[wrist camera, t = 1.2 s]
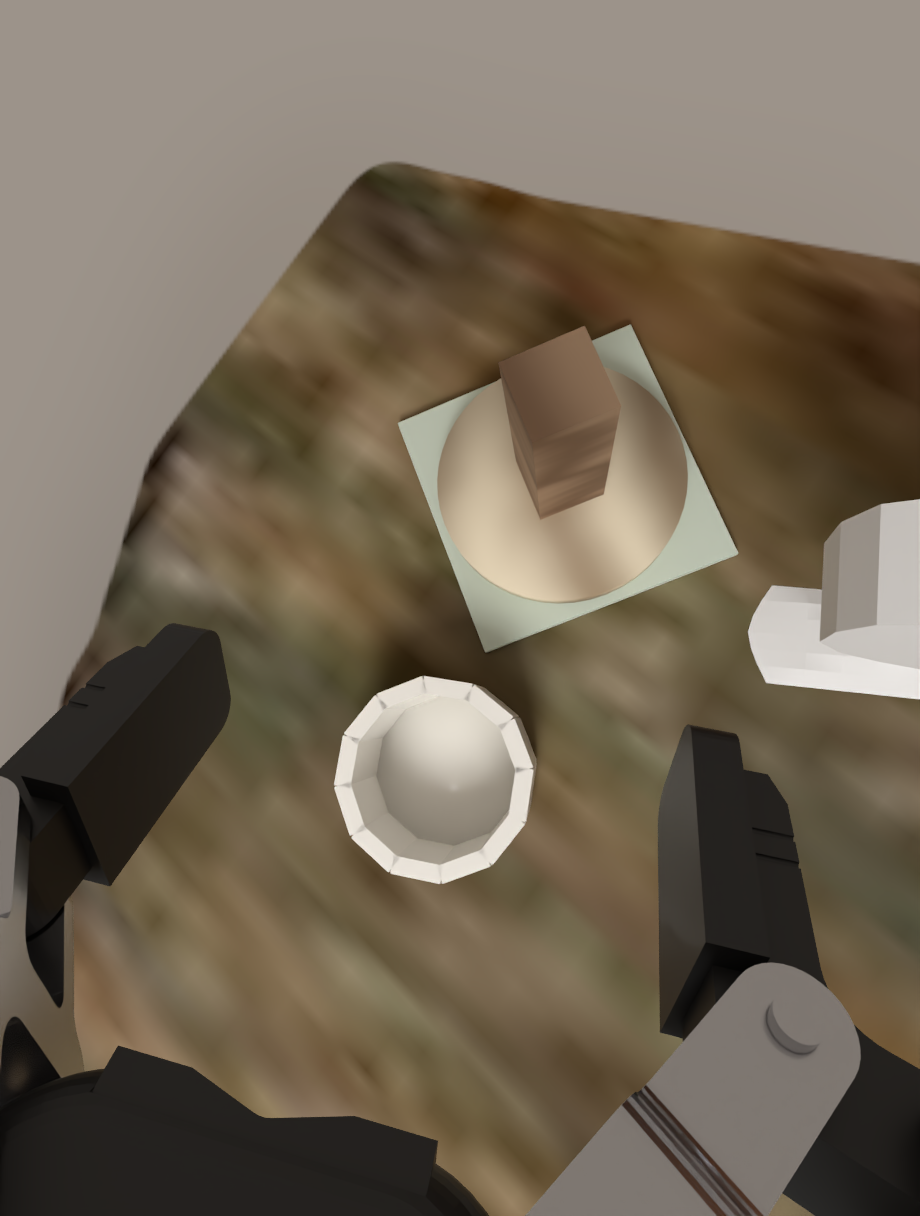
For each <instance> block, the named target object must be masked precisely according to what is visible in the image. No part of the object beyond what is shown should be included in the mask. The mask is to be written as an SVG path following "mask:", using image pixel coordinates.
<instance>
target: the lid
mask: <svg viewBox="0 0 920 1216" xmlns="http://www.w3.org/2000/svg"><path fill="white" fill-rule="evenodd" d="M498 363H499V369H500V375H501V379H499V380H498V381H496V382H494V383H493V384H491V385H490V386H488V387H487V388H486V389H484V390H483V391H482V392H481V393H480V394H479V395H477V396H476V397H475V398H474V399H473V400H472V401H471V402H470V403H469V405H468V406H467V407H466V408H465V409H464V410H463V412H462V413H461V414H460V416H459V417H458V419H457V420H456V421H455V423H454V425H453V427H452V429H451V430H450V432H449V434H448V436H447V439H446V442H445V444H444V447H443V449H442V453H441V457H440V461H439V467H438V477H437V491H438V500H439V506H440V511H441V514H442V518H443V521H444V524H445V526H446V528H447V531H448V533H449V535H450V537H451V539H452V541H453V542H454V544H455V545H456V547H457V548H458V550H459V552H460V553H461V555H462V556H463V557H464V559H465V560H466V561H467V562H468V563H469V564H470V566H471V567H472V568H473V569H474V570H475V571H476V572H478V573H479V574H480V575H481V576H482V577H483V578H484V579H486V580H487V581H489V582H490V583H492V584H493V585H495V586H496V587H498V588H500V589H502V590H504V591H506V592H508V593H510V594H513V595H515V596H518V597H521V598H524V599H528V600H533V601H537V602H543V603H557V604H559V603H575V602H581V601H586V600H591V599H594V598H597V597H600V596H604V595H606V594H609V593H611V592H613V591H615V590H617V589H619V588H621V587H623V586H624V585H626V584H628V583H629V582H631V581H632V580H634V579H635V578H636V577H638V576H639V575H640V574H641V573H642V572H644V571H645V570H646V569H647V568H648V567H649V566H650V565H651V564H652V563H653V562H654V561H655V559H656V558H657V557H658V556H659V555H660V553H661V552H662V550H663V549H664V548H665V546H666V545H667V543H668V542H669V540H670V538H671V537H672V535H673V533H674V531H675V529H676V527H677V525H678V523H679V520H680V517H681V514H682V512H683V509H684V505H685V500H686V495H687V485H688V470H687V459H686V455H685V450H684V446H683V443H682V440H681V437H680V435H679V432H678V430H677V428H676V426H675V424H674V422H673V421H672V419H671V417H670V415H669V414H668V413H667V411H666V410H665V409H664V407H663V406H662V405H661V403H660V402H659V401H658V400H657V399H656V398H655V397H654V396H653V395H652V394H651V393H650V392H649V391H647V390H646V389H645V388H643V387H642V386H641V385H640V384H638V383H637V382H635V381H634V380H632V379H630V378H628V377H627V376H625V375H623V374H621V373H619V372H616V371H614V370H611V369H609V368H606V367H603V365H602V362H601V360H600V358H599V356H598V354H597V351H596V349H595V347H594V345H593V343H592V340H591V338H590V336H589V334H588V332H587V329H586V327H585V326H583V327H580V328H578V329H576V330H573V331H571V332H569V333H566V334H564V335H562V336H559V337H557V338H554V339H552V340H550V341H547V342H545V343H543V344H540V345H538V346H536V347H533V348H531V349H529V350H526V351H524V352H522V353H519V354H517V355H515V356H512V357H510V358H508V359H505V360H503V361H500V362H498Z"/></svg>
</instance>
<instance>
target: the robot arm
mask: <svg viewBox="0 0 920 1216" xmlns="http://www.w3.org/2000/svg"><path fill="white" fill-rule="evenodd" d="M230 701H231V698H230V690H229V685H228V680H227V674H226V669H225V664H224V659H223V653H222V648H221V643H220V639H219V636H218V635H217V633H216V632H214V631H212V630H206V629H201V628H196V627H191V626H186V625H181V624H176V623H172V624H169V625H167V626H165V627H164V628H163V629H162V630H161V631H160V632H159V633H158V634H157V635H156V636H155V637H154V638H153V639H152V640H151V642H150V643H149V644H148V645H147V646H146V647H140V646H136V647H134V648H132V649H131V650H129V651H127V652H125V653H123V654H122V655H120V656H118V657H116V658H114V659H113V660H111V661H109V662H107V663H106V664H105V665H104V666H103V667H102V668H101V669H100V670H99V671H98V672H97V673H96V674H95V675H94V676H93V677H92V678H91V679H90V680H89V681H88V682H87V683H86V687H85V688H81V689H80V690H79V691H78V692H77V693H76V694H75V695H74V696H73V697H72V698H71V699H70V700H69V704H68V705H67V706H65V705H64V706H63V707H62V708H61V709H60V710H59V711H58V712H57V713H56V714H55V715H54V716H53V717H52V718H51V719H50V720H49V721H48V722H47V723H46V724H45V725H44V726H43V727H42V728H41V729H40V730H39V731H38V732H37V733H36V734H35V735H34V736H33V737H32V738H31V739H30V740H29V741H27V742H26V743H25V744H24V745H23V747H21V748H20V749H19V750H18V751H17V752H16V754H15V755H13V756H12V757H11V758H10V760H8V761H7V762H6V763H5V764H4V765H3V766H2V767H1V768H0V1216H489V1215H488V1213H487V1212H486V1211H485V1210H484V1208H483V1207H482V1206H481V1205H480V1203H479V1202H478V1201H477V1200H476V1199H475V1197H474V1196H473V1195H472V1194H471V1192H469V1191H468V1190H467V1189H466V1188H465V1187H464V1186H463V1185H462V1184H461V1183H460V1182H459V1181H458V1180H457V1179H456V1178H455V1177H454V1176H452V1175H451V1174H450V1173H448V1172H447V1171H445V1170H444V1169H443V1168H441V1167H440V1166H438V1165H437V1164H436V1154H437V1144H438V1141H436V1140H433V1139H430V1138H426V1137H423V1136H420V1135H416V1134H413V1133H409V1132H406V1131H403V1130H399V1129H396V1128H393V1127H389V1126H386V1125H383V1124H379V1123H376V1122H373V1121H369V1120H366V1119H362V1118H359V1117H356V1116H343V1117H301V1118H264V1117H261V1116H258V1115H257V1114H255V1113H253V1112H252V1111H251V1110H249V1109H248V1108H247V1107H245V1106H244V1105H242V1104H241V1103H240V1102H238V1101H237V1100H236V1099H234V1098H233V1097H232V1096H230V1095H229V1094H227V1093H226V1092H225V1091H223V1090H222V1089H221V1088H219V1087H218V1086H217V1085H215V1084H214V1083H212V1082H211V1081H210V1080H208V1079H207V1078H206V1077H204V1076H203V1075H202V1074H200V1073H199V1072H197V1071H196V1070H195V1069H193V1068H191V1067H188V1066H185V1065H181V1064H178V1063H175V1062H171V1061H168V1060H165V1059H161V1058H158V1057H155V1056H151V1055H148V1054H144V1053H141V1052H138V1051H134V1050H131V1049H128V1048H124V1047H121V1046H118V1047H117V1048H116V1050H115V1052H114V1054H113V1055H112V1057H111V1059H110V1060H109V1062H108V1064H107V1066H106V1067H105V1069H98V1070H92V1071H86V1072H84V1064H83V1058H82V1052H81V1048H80V1044H79V1040H78V1037H77V1033H76V1027H75V1020H74V930H73V901H72V899H71V895H72V893H73V892H74V891H75V889H76V888H77V887H78V885H79V884H80V883H81V881H82V880H83V879H84V880H88V881H92V882H95V883H99V884H103V885H107V886H111V885H112V883H113V882H114V880H115V879H116V877H117V876H118V875H119V873H120V872H121V870H122V869H123V868H124V866H125V865H126V863H127V862H128V861H129V859H130V858H131V856H132V855H133V854H134V852H135V851H136V849H137V848H138V847H139V845H140V844H141V842H142V841H143V839H144V838H145V837H146V835H147V834H148V832H149V831H150V830H151V828H152V827H153V825H154V824H155V823H156V821H157V820H158V818H159V817H160V816H161V814H162V813H163V811H164V810H165V809H166V807H167V806H168V804H169V803H170V801H171V800H172V799H173V797H174V796H175V794H176V793H177V792H178V790H179V789H180V787H181V786H182V785H183V783H184V782H185V780H186V779H187V778H188V776H189V775H190V773H191V772H192V770H193V769H194V768H195V766H196V765H197V763H198V762H199V761H200V759H201V758H202V756H203V755H204V754H205V752H206V751H207V749H208V748H209V747H210V745H211V744H212V742H213V741H214V740H215V738H216V737H217V735H218V734H219V732H220V731H221V729H222V728H223V726H224V724H225V722H226V720H227V717H228V713H229V709H230ZM793 837H794V834H793V829H792V824H791V819H790V814H789V809H788V804H787V803H786V801H785V800H784V798H783V797H782V795H781V794H780V792H779V791H778V789H777V788H776V786H775V785H774V783H773V782H772V780H771V779H770V777H769V776H768V775H767V774H762V773H757V772H752V771H747V770H743V763H742V756H741V749H740V743H739V739H738V736H737V735H736V734H734V733H729V732H724V731H719V730H714V729H709V728H703V727H698V726H693V725H686V727H685V728H684V730H683V733H682V735H681V738H680V741H679V744H678V747H677V750H676V753H675V756H674V758H673V761H672V764H671V767H670V770H669V773H668V776H667V779H666V781H665V784H664V787H663V791H662V795H661V800H660V807H659V815H658V883H659V977H660V1033H664V1034H668V1035H672V1036H676V1037H679V1038H683V1043H682V1044H681V1045H680V1046H679V1047H678V1048H677V1050H676V1051H675V1052H674V1053H673V1054H672V1055H671V1057H670V1058H669V1059H668V1060H667V1061H666V1062H665V1064H664V1065H663V1066H662V1067H661V1068H660V1069H659V1071H658V1072H657V1073H656V1074H655V1075H654V1076H653V1078H652V1079H651V1080H650V1081H649V1082H648V1083H647V1084H646V1085H645V1086H644V1087H643V1088H642V1089H641V1090H640V1091H639V1092H635V1093H634V1094H632V1095H631V1096H630V1097H629V1098H628V1099H627V1100H626V1101H625V1102H624V1103H623V1104H622V1105H621V1106H620V1107H619V1108H618V1109H617V1110H616V1112H615V1113H614V1114H613V1115H612V1116H611V1117H610V1118H609V1119H608V1121H607V1122H606V1123H605V1124H604V1125H603V1126H602V1128H601V1129H600V1130H599V1131H598V1132H597V1133H596V1135H595V1136H594V1137H593V1138H592V1139H591V1140H590V1141H589V1143H588V1144H587V1145H586V1146H585V1147H584V1148H583V1150H582V1151H581V1152H580V1153H579V1154H578V1155H577V1156H576V1158H575V1159H574V1160H573V1161H572V1162H571V1163H570V1165H569V1166H568V1167H567V1168H566V1169H565V1170H564V1171H563V1173H562V1174H561V1175H560V1176H559V1177H558V1178H557V1180H556V1181H555V1182H554V1183H553V1184H552V1185H551V1187H550V1188H549V1189H548V1190H547V1191H546V1192H545V1193H544V1195H543V1196H542V1197H541V1198H540V1199H539V1200H538V1202H537V1203H536V1204H535V1205H534V1206H533V1207H532V1208H531V1210H530V1211H529V1212H528V1213H527V1214H526V1215H525V1216H768V1215H769V1213H770V1211H771V1210H772V1208H773V1207H774V1205H775V1203H776V1202H777V1200H778V1199H779V1197H780V1195H781V1194H782V1193H783V1194H784V1195H786V1196H787V1197H789V1198H790V1199H792V1200H793V1201H795V1202H796V1203H797V1204H799V1205H800V1206H802V1207H803V1208H805V1209H806V1210H808V1211H809V1212H811V1213H812V1214H814V1215H815V1216H920V1069H918V1068H917V1067H915V1066H913V1065H911V1064H910V1063H908V1062H906V1061H904V1060H903V1059H901V1058H899V1057H897V1056H895V1055H894V1054H892V1053H890V1052H888V1051H887V1050H885V1049H884V1048H882V1047H881V1046H879V1045H877V1044H876V1043H875V1042H873V1041H872V1040H871V1039H869V1038H868V1037H867V1036H866V1035H864V1034H863V1033H862V1032H861V1031H860V1030H859V1029H858V1028H857V1027H856V1026H855V1025H854V1024H853V1022H852V1020H851V1018H850V1016H849V1014H848V1013H847V1011H846V1010H845V1008H844V1007H843V1005H842V1004H841V1003H840V1001H839V1000H838V999H837V998H836V997H835V996H834V994H833V993H832V992H831V991H830V990H828V988H827V985H826V983H825V981H824V978H823V975H822V971H821V968H820V963H819V958H818V953H817V948H816V943H815V938H814V933H813V928H812V923H811V918H810V913H809V908H808V903H807V898H806V893H805V888H804V883H803V879H802V874H801V869H799V868H798V864H799V859H798V854H797V849H796V844H795V842H793Z"/></svg>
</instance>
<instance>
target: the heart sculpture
mask: <svg viewBox="0 0 920 1216" xmlns="http://www.w3.org/2000/svg"><path fill="white" fill-rule="evenodd" d="M748 635H749V640H750V645H751V649H752V652H753V655H754V657H755V660H756V662H757V665H758V667H759V669H760V671H761V673H762V675H763V677H764V679H765V681H766V683H772V684H781V685H791V686H800V687H809V688H819V689H828V690H838V691H847V692H856V693H866V694H875V695H885V696H894V697H903V698H913V699H920V499H918V500H910V501H902V502H894V503H886V504H880V505H878V506H876V507H873V508H871V509H869V510H867V511H865V512H862V513H860V514H858V515H856V516H853V517H851V518H849V519H847V520H845V521H842V522H841V523H840V524H839V525H838V527H837V528H836V529H835V530H834V532H833V533H832V534H831V535H830V537H829V538H828V539H827V540H826V542H825V543H824V558H823V579H822V590H821V589H809V588H797V587H786V586H774V585H772V586H771V588H770V589H769V591H768V592H767V593H766V595H765V596H764V598H763V599H762V601H761V602H760V604H759V606H758V608H757V610H756V611H755V613H754V615H753V617H752V621H751V624H750V627H749V630H748Z"/></svg>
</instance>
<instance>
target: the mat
mask: <svg viewBox="0 0 920 1216" xmlns="http://www.w3.org/2000/svg"><path fill="white" fill-rule="evenodd" d="M592 343H593V345H594V347H595V349H596V351H597V354H598V356H599V358H600V360H601V362H602V365H603V367H606V368H609V369H611V370H614V371H616V372H619V373H621V374H623V375H625V376H627V377H628V378H630V379H632V380H634V381H635V382H637V383H638V384H640V385H641V386H642V387H643V388H645V389H646V390H647V391H649V392H650V393H651V394H652V395H653V396H654V397H655V398H656V399H657V400H658V401H659V402H660V403H661V405H662V406H663V407H664V409H665V410H666V411H667V413H668V414H669V415H670V417H671V419H672V421H673V422H674V424H675V426H676V428H677V430H678V432H679V435H680V437H681V440H682V443H683V446H684V450H685V455H686V459H687V470H688V485H687V495H686V500H685V505H684V509H683V512H682V514H681V517H680V520H679V523H678V525H677V527H676V529H675V531H674V533H673V535H672V537H671V538H670V540H669V542H668V543H667V545H666V546H665V548H664V549H663V550H662V552H661V553H660V555H659V556H658V557H657V558H656V559H655V561H654V562H653V563H652V564H651V565H650V566H649V567H648V568H647V569H646V570H645V571H644V572H642V573H641V574H640V575H639V576H638V577H636V578H635V579H634V580H632V581H631V582H629V583H628V584H626V585H624V586H623V587H621V588H619V589H617V590H615V591H613V592H611V593H609V594H606V595H604V596H600V597H597V598H594V599H591V600H586V601H581V602H575V603H559V604H557V603H543V602H537V601H533V600H528V599H524V598H521V597H518V596H515V595H513V594H510V593H508V592H506V591H504V590H502V589H500V588H498V587H496V586H495V585H493V584H492V583H490V582H489V581H487V580H486V579H484V578H483V577H482V576H481V575H480V574H479V573H478V572H476V571H475V570H474V569H473V568H472V567H471V566H470V564H469V563H468V562H467V561H466V560H465V559H464V557H463V556H462V555H461V553H460V552H459V550H458V548H457V547H456V545H455V544H454V542H453V541H452V539H451V537H450V535H449V533H448V531H447V528H446V526H445V524H444V521H443V518H442V514H441V511H440V506H439V500H438V491H437V477H438V467H439V461H440V457H441V453H442V449H443V447H444V444H445V442H446V439H447V436H448V434H449V432H450V430H451V429H452V427H453V425H454V423H455V421H456V420H457V419H458V417H459V416H460V414H461V413H462V412H463V410H464V409H465V408H466V407H467V406H468V405H469V403H470V402H471V401H472V400H473V399H474V398H475V397H476V396H477V395H479V394H480V393H481V392H482V391H483V390H484V389H486V388H487V387H488V386H490V385H491V384H493V383H494V382H493V383H491V384H489V385H486V386H484V387H482V388H479V389H477V390H475V391H472V392H470V393H467V394H465V395H463V396H460V397H458V398H456V399H453V400H451V401H449V402H446V403H444V404H442V405H439V406H437V407H434V408H432V409H430V410H427V411H425V412H423V413H420V414H418V415H416V416H413V417H411V418H408V419H406V420H404V421H401V422H399V423H398V425H399V428H400V431H401V433H402V436H403V439H404V441H405V444H406V446H407V449H408V452H409V454H410V457H411V460H412V462H413V465H414V467H415V470H416V473H417V475H418V478H419V481H420V483H421V486H422V488H423V491H424V494H425V496H426V499H427V501H428V504H429V507H430V509H431V512H432V515H433V517H434V520H435V522H436V525H437V528H438V530H439V533H440V536H441V538H442V541H443V543H444V546H445V549H446V551H447V554H448V556H449V559H450V562H451V564H452V567H453V570H454V572H455V575H456V577H457V580H458V583H459V585H460V588H461V591H462V593H463V596H464V598H465V601H466V604H467V606H468V609H469V611H470V614H471V617H472V619H473V622H474V625H475V627H476V630H477V632H478V635H479V638H480V640H481V643H482V646H483V648H484V651H485V653H487V652H490V651H492V650H495V649H497V648H500V647H503V646H505V645H508V644H510V643H513V642H515V641H518V640H521V639H523V638H526V637H528V636H531V635H533V634H536V633H538V632H541V631H544V630H546V629H549V628H551V627H554V626H556V625H559V624H562V623H564V622H567V621H569V620H572V619H574V618H577V617H579V616H582V615H585V614H587V613H590V612H592V611H595V610H597V609H600V608H603V607H605V606H608V605H610V604H613V603H615V602H618V601H620V600H623V599H626V598H628V597H631V596H633V595H636V594H638V593H641V592H644V591H646V590H649V589H651V588H654V587H656V586H659V585H661V584H664V583H667V582H669V581H672V580H674V579H677V578H679V577H682V576H685V575H687V574H690V573H692V572H695V571H697V570H700V569H702V568H705V567H708V566H710V565H713V564H715V563H718V562H720V561H723V560H726V559H728V558H731V557H733V556H736V555H737V554H738V551H737V549H736V547H735V545H734V543H733V541H732V539H731V537H730V534H729V532H728V530H727V528H726V526H725V524H724V522H723V520H722V517H721V515H720V513H719V511H718V509H717V507H716V505H715V503H714V500H713V498H712V496H711V494H710V492H709V490H708V488H707V486H706V483H705V481H704V479H703V477H702V475H701V473H700V471H699V469H698V467H697V464H696V462H695V460H694V458H693V456H692V454H691V452H690V450H689V447H688V445H687V443H686V441H685V439H684V437H683V435H682V433H681V430H680V428H679V426H678V424H677V422H676V420H675V418H674V416H673V413H672V411H671V409H670V407H669V405H668V403H667V401H666V399H665V396H664V394H663V392H662V390H661V388H660V386H659V384H658V382H657V379H656V377H655V375H654V373H653V371H652V369H651V367H650V365H649V362H648V360H647V358H646V356H645V354H644V352H643V350H642V348H641V345H640V343H639V341H638V339H637V337H636V335H635V333H634V331H633V328H632V326H631V324H630V325H628V326H626V327H623V328H621V329H619V330H616V331H614V332H611V333H609V334H607V335H604V336H602V337H600V338H597V339H595V340H593V341H592Z"/></svg>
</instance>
